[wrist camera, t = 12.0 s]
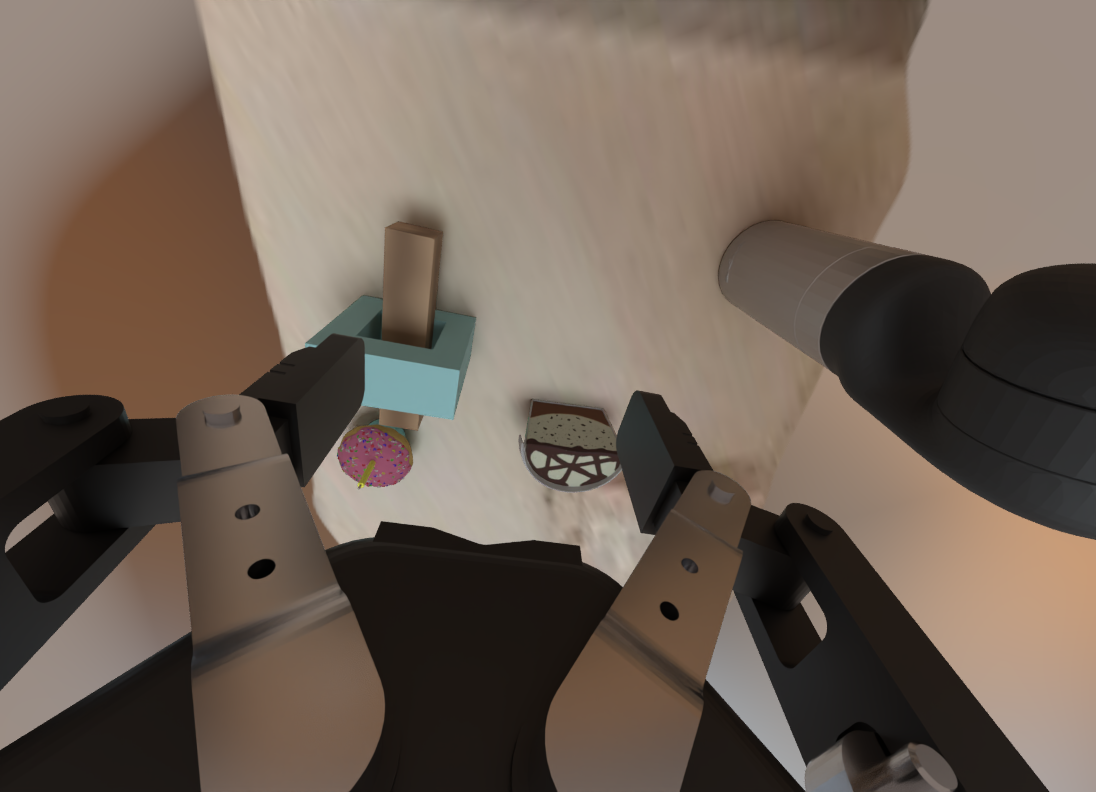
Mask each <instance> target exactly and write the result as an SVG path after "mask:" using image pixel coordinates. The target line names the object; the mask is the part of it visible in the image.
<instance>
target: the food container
mask: <svg viewBox="0 0 1096 792" xmlns="http://www.w3.org/2000/svg"><path fill="white" fill-rule="evenodd" d="M616 439H617V435H616V433H615V431H614V429H613V427H612V425H611V423H610V421H609V419H608V417H607V415H606V413H605V411H604V409H603V408H596V407H588V406H581V405H573V404H566V403H558V402H550V401H543V400H535V399H532V400H531V406H530V411H529V417H528V423H527V429H526V434H525V440H524V442H523V441H522V438H521V435H519V449H520V453H521V456H522V459H523V462H524V464H525V466H526V468H527V470H528V471H529V472H530V474H531V475H532V476H533V477H534V478H535V479H536V480H537V481H538V482H539V483H541V484H543V485H544V486H546V487H548V488H551V489H554V490H557V491H562V492H584V491H589V490H592V489H595V488H598V487H600V486H602V485H604V484H606V483H608V482H609V481H611V480H612V479H613V478H615V477H616V476H617V475H618V474H619V473H620V472H621V470H622V468H621V464H620V461H619V457H618V454H617V450H616Z"/></svg>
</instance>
